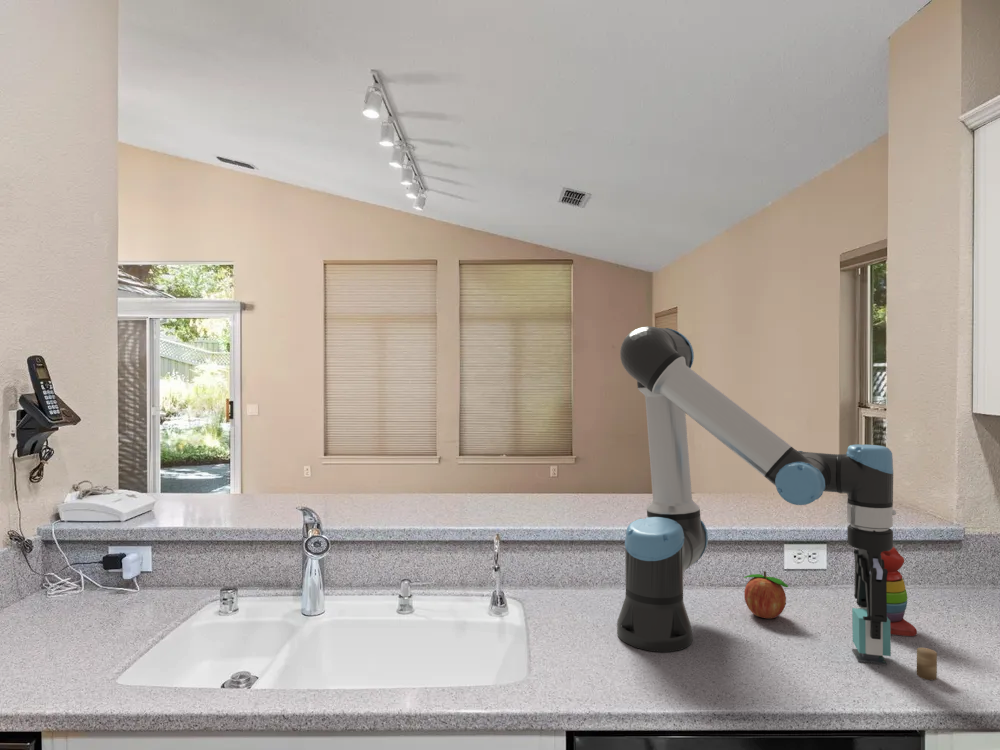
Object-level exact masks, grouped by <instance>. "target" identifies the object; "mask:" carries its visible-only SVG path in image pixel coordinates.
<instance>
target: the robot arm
mask: <svg viewBox="0 0 1000 750" xmlns="http://www.w3.org/2000/svg"><path fill="white" fill-rule="evenodd" d="M619 356H620V360H621V361H620V362H621V364H622V366H623V368H624V370H625V371H626V373H628V374H629V375H630V376H631V377H632V378H633V379H635V380H636V382H637V390H638V391H639V392H640V393H642V395H643V396H644V399H645V412H646V413H645V414H646V423H647V425H646V426H647V438H648V450H649V453H648V454H649V464H650V478H651V479H650V480H651V491H652V501H651V503H650V504H648V506H647V507H646V514H647V515H646V517H644V518H639V519H636V520H634V521H631V522H630V524H628V526H627V527H626V532H625V540H624V548H625V553H624V554H625V555H624V556H625V557H624V558H625V565H624V566H625V567H624V568H625V597H624V601H623V604H622V606H621V609H620V613H619V616H618V618H617V621H616V622H617V623H616V634H617V637H618V638H619V639H620V640H621V641H622V642H624V643H625V644H627V645H629V646H632V647H634V648H637V649H640V650H645V651H651V652H661V653H667V652H669V653H670V652H675V651H680V650H683V649H686V648H687V647H689V646H690V645H691V644H692V642H693V628H692V625H691V622H690V618H689V616H688V615H689V614H688V612H687V609H686V608H687V607H686V606H685V601H684V572H685V571H686V570H687V569H689V568H690V567H692V565H694V564H696V563H697V562H698V561H699V560H700V559H701V558H702V557H703V555H704V553H705V552H706V549H707V547H708V542H709V534H708V529H707V527H706V525H705V523H704V520H702V519H701V508H700V505H698V504H697V503H696V502H695V501H694V499H693V495H692V494H693V493H692V481H691V467H690V455H689V442H688V432H687V431H688V430H687V429H688V428H687V418H686V416H688V417H690V418H691V419H692V420H693V421H695V422H696V423H697V424H699V425H700V426H702V427H703V429H705V430H706V431H707V432H709V433H710V434H711V435H712V436H713V437H715V438H716V439H717V440H718V441H720V442H721V443H722V444H723V445H725V446H726V447H727V448H728V449H730V450H731V451H732V452H733V453H734V454H736V455H737V456H738V457H739V458H740V459H742V460H743V461H744V462H745V463H747V464H748V465H749V466H751V467H752V468H753V469H754V470H756V471H757V472H758V473H759V474H760V475H762V477H764V478H766V479H767V480H768V482H770V483H772V485H773V486H775V488H776V490H777V493H778V495H779V496H780V497H781V498H782V499H783V500H784V501H786V502H787V503H789V504H792V505H795V506H806V505H809V504H812V503H813V502H815V501H816V500H819V499H820V498H821V497H822V496H823V494H824V492H825V493H826V492H827V493H838V494H847V501H846V521H847V523H848V524H849V525H847V526H846V527H847V530H846V531H847V539H846V540H847V544H848V545H849V546H850V547H852V548H854V549H853V555H854V557H853V558H854V594H853V596H854V599H855V600H856V601H855V602H856V605H857V607H856V608H858V609H867V617H865V616H863V620H865V652H866V654H871V655H880V656H883V622H887V574H888V571H887V569H884V567H885V566H884V560H883V559H881V552H883V551H889V550H891V549H892V548H893V547H894V532H893V530H892V529H891V528H892V527H894V526H893V521H894V520H893V516H896V514H897V512H896V510H895V509H894V507H893V506H894V464H893V459H894V458H893V452H892V450H890V448H889V447H888V446H884V445H877V444H857V443H856V444H850V445H849V446H848V447H847V451H846V453H843V454H841V453H839V454H835V453H823V452H811V451H802V450H797V449H795V448H794V447H793V446H791V445H790V444H789V443H788V442H786V441H785V440H784V439H783V438H782V437H780V436H778V434H776V433H775V432H773V431H772V430H771V429H770V428H768V427H767V426H765V425H764V424H763V423H762V422H760V421H759V420H758V419H757V418H756V417H754V416H753V415H752V414H750V413H748V411H746V410H745V409H743V408H742V407H741V406H740V405H739V404H737V403H736V402H734V400H732V399H730V397H728V396H726V395H725V394H724V392H723V393H722V392H721V391H720V390H719V389H718V388H716V387H715V386H714V385H713V384H711V383H710V382H708V381H707V380H706V379H704V378H703V377H702V376H701V375H700V374H698V373H697V372H695V371H694V370H693V369H692V367H693V363H694V358H695V355H694V349H693V345H692V344H691V342H690V340H689V339H688V338H687V337H686V336H685V335H684V334H683V333H681V332H679V331H677V330H675V329H673V328H669V327H665V328H664V327H657V326H650V325H649V326H647V325H646V326H641V327H638V328H635V329H634V330H632V331H631V332H629V333H628V334H627V335H626V337H624V340H623V342H622V343H621V346H620V355H619ZM859 605H860V607H859ZM883 657H884V656H883Z"/></svg>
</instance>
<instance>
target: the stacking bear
mask: <svg viewBox="0 0 1000 750" xmlns="http://www.w3.org/2000/svg"><path fill="white" fill-rule="evenodd" d="M898 551H899V550H897V549H896V547H894V546H893V548H892V549H891V550H889V551H883V552H881V559H883V560H884V566H885V567H884V569H887V571H888V574H887V617H888V619H889V620H890V633H891V635H894V636H895V635H896V636H902V637H903V636H904V637H915V636H917V635H918V630H917V628H916V627H915V626H914V625H913V624H911V623H910V622H909V621H907V620H905V619H904V617H905V613H906V609H907V605H908V592H907V589H906V584H905V580H904V579H903V575H902V573H901V572H899V571H900V569H901V568H902V567H903V566H904V563H905V558H904V557H903V556H902V555H901V554H900V553H899V552H898ZM858 606H859V607H860V605H858Z"/></svg>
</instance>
